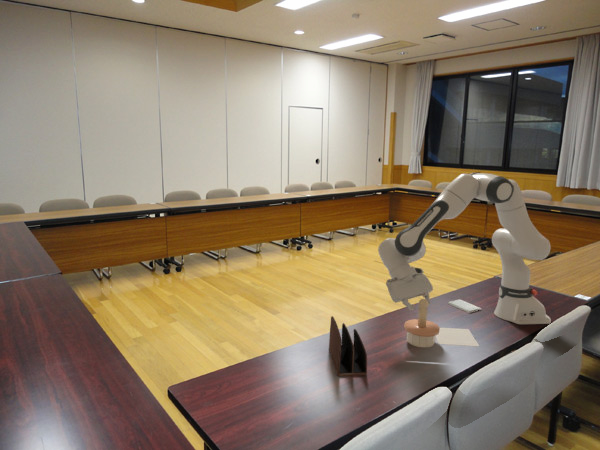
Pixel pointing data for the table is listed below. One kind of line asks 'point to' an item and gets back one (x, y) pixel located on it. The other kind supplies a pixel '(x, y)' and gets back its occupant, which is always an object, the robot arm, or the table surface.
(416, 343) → the bowl
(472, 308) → the hard drive
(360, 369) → the letter holder
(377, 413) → the table surface
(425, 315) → the salmon dome
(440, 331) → the mat
